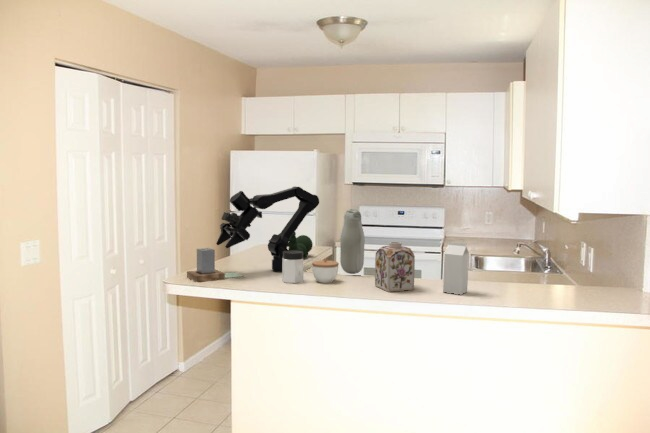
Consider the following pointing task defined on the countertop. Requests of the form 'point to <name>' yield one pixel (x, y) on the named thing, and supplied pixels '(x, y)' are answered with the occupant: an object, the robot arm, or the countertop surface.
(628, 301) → the countertop surface
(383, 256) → the decorative jar
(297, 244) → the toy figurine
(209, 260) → the grey rectangular block
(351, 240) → the grey green vase
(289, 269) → the jar
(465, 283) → the milk carton
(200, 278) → the socket block
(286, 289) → the countertop surface
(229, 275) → the mat
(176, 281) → the countertop surface
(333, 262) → the lidded jar
